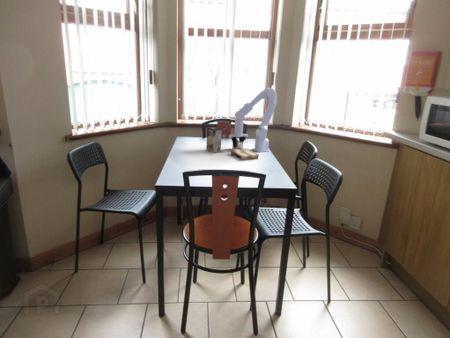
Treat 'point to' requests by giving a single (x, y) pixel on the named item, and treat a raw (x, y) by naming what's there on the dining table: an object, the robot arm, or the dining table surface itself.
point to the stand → (245, 154)
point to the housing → (238, 145)
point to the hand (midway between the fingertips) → (237, 147)
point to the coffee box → (214, 139)
